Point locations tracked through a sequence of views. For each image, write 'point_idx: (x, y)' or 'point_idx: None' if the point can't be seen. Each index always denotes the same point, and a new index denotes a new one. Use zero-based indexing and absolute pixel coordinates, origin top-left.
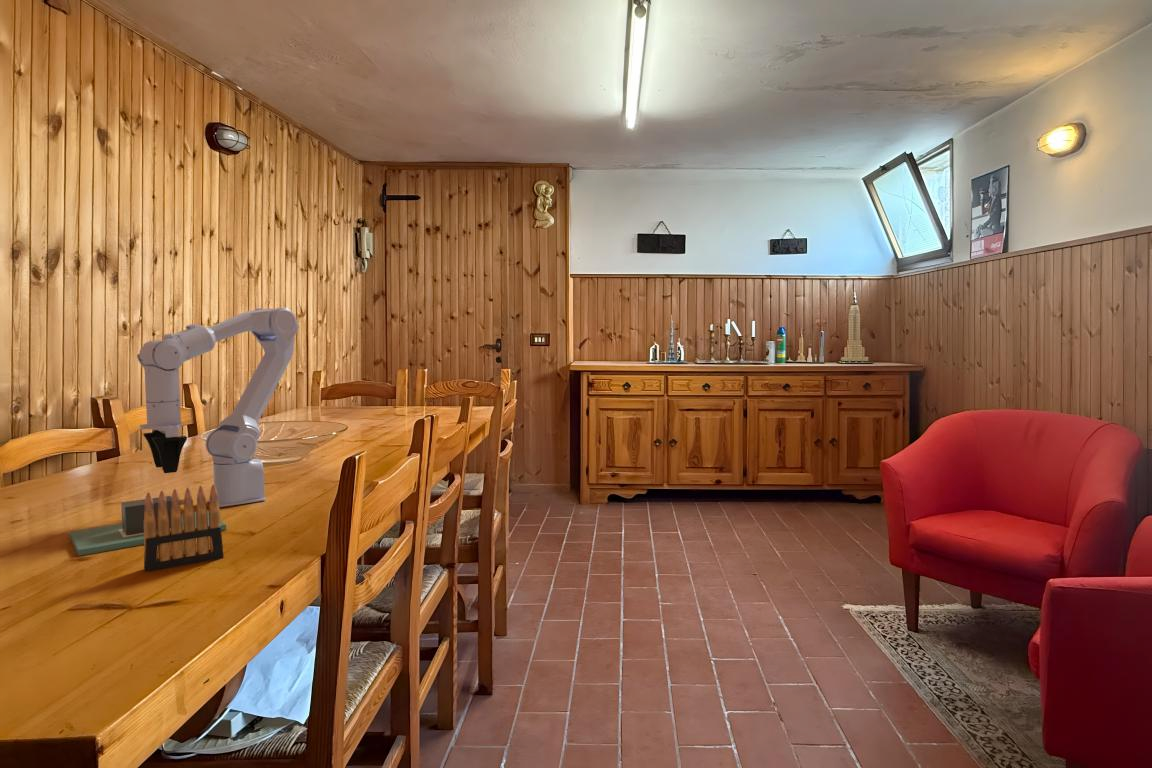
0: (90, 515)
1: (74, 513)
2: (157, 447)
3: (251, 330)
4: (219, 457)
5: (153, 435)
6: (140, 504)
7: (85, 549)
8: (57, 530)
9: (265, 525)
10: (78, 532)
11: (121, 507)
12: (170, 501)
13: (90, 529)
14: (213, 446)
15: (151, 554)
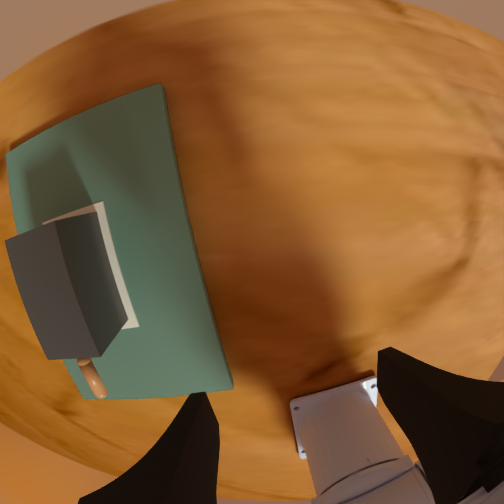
0: (392, 118)
1: (424, 93)
2: (128, 484)
3: None
4: (368, 486)
5: (476, 456)
6: (20, 278)
7: (7, 164)
8: (259, 52)
9: (105, 436)
10: (134, 106)
11: (61, 219)
12: (43, 348)
13: (150, 128)
14: (397, 500)
15: None
